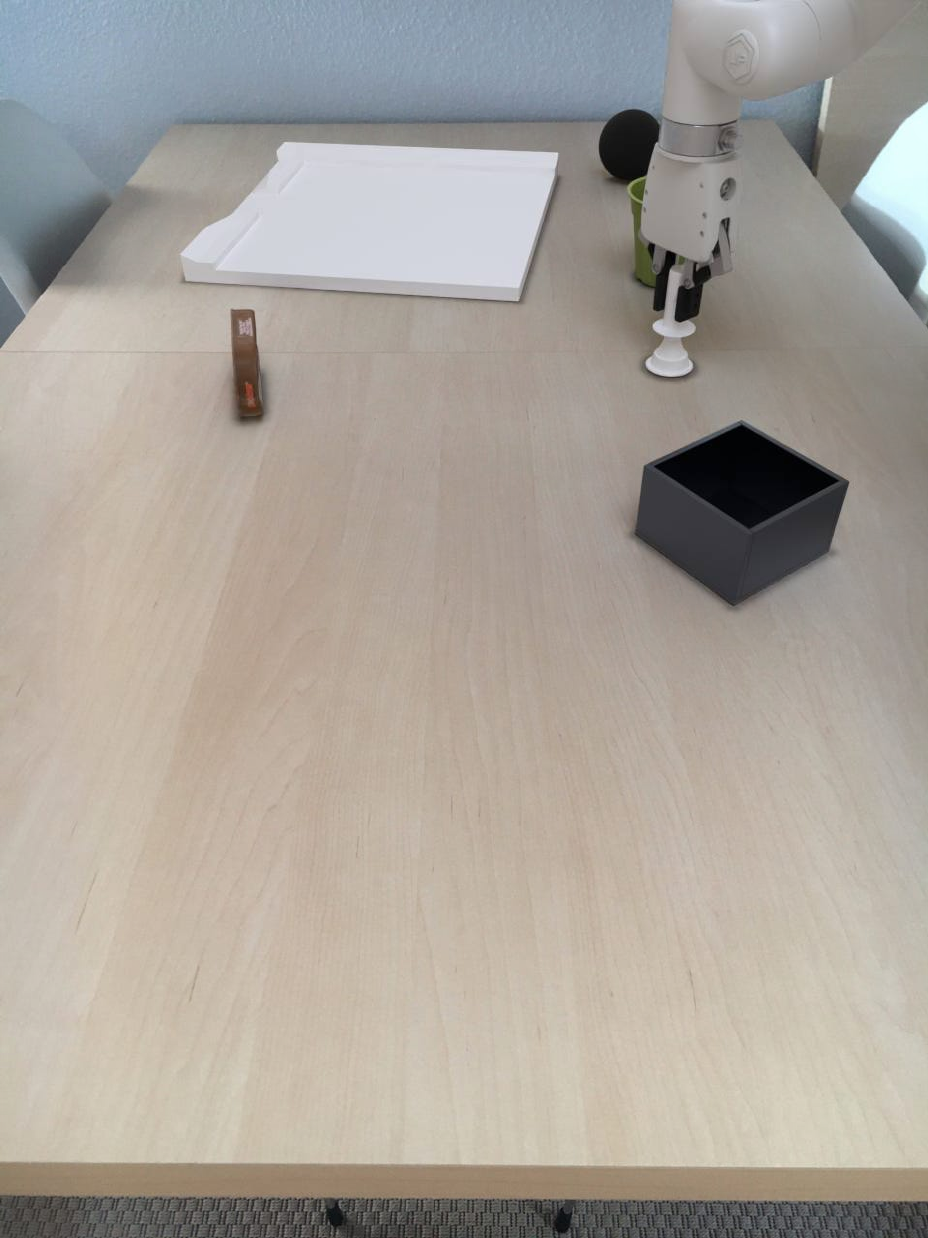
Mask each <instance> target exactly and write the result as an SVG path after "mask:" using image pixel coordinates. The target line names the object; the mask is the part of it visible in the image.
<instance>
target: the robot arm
mask: <svg viewBox="0 0 928 1238" xmlns="http://www.w3.org/2000/svg"><path fill="white" fill-rule="evenodd" d="M922 1H923V0H673V1H672V2H673V3H672V5H671V10H670V11H671V12H670V22H669V32H668V39H667V40H668V41H667V50H666V52H667V53H666V60H665V61H666V62H665V71H664V80H663V91H662V101H661V111H660V118H659V125H660V128H659V138H658V142H657V143H656V144H655V147H654V150H653V153H652V157H651V161H650V165H649V169H648V174H647V175H646V176H647V178H646V184H645V190H644V196H643V204H642V213H641V227H640V229H639V231H638V238H639V239H640V240H641V241H642V243H643V244H644V245H645V246H646V248H648V252H649V254H650V257H651V259H652V261H653V264H652V270H653V272H654V273H655V274H657V276H656V283H655V287H654V294H653V303H652V310H653V311H655V312H657V313H658V312H661V311H664V310H665V302H666V294H667V285H668V278H669V272H670V269H671V267H672V266H673V265H678V262H679V256H683V257H685V266H684V278H683V284H684V285H682V286H679V288H678V293H677V301H676V309H675V317H674V318H675V321H677V322H679V323H681V322H683V321H686V320H688V321H690V320H692V319H694V318H696V317H698V316H699V314H700V311H701V305H702V297H703V296H702V295H703V289H704V284H706V283H709V282H710V280H711V279H712V278H714V277H719V276H723V275H727V274H728V273H729V274H730V273H731V272H732V271H733V262H732V257H731V254H732V253H734V252H735V251H736V247H737V244H738V238H739V231H740V224H741V213H742V203H743V202H742V200H743V163H742V161H743V160H742V154H740V153H739V152H736V151H738V150H739V149H741V148H742V146H743V144H744V136H743V135H742V134H740V133H739V129H740V121H741V114H742V108H743V100H744V101H748V102H759V101H766V100H769V99H773V98H776V97H778V96H782V95H785V94H788V93H791V92H793V91H794V90H797V89H801V88H804V87H807V86H810V85H813V84H817V83H820V82H824V81H825V80H829V79H831V78H833V77H835V76H838V74H840V73H842V72H843V71H845V70H847V69H848V68H849V67H851V66H852V65H854V63H856V62H857V61H858V60H860V59H861V58H862V57H864V56H865V55H866V54H867V53H868V52H869V51H870V50H872V49H873V48H874V47H875V46H876V45H877V44H879V43H880V42H881V41H882V40H883V39H885V37H887V36H888V35H889V34H890V33H891V32H892V31H894V30H895V29H896V28H897V27H899V25H900V24H902V22H903V21H905V20H906V19H907V18H908V17H909V16H910V15H911V14H912V13H913V12H914V11H915V10H916V9H917V7H918V6H920V4H921V3H922ZM712 259H713V260H712ZM697 265H698V266H697ZM697 267H698V268H697Z"/></svg>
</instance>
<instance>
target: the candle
mask: <svg viewBox="0 0 928 1238" xmlns="http://www.w3.org/2000/svg"><path fill="white" fill-rule="evenodd" d="M684 266H685V263H684V264H683V265H673V266H672V267H671V269H670V272H669V278H668V285H667V294H666V302H665V309H664V310H663V311H664V312H663V318H660V319H658V320H656V321H654V322H653V324H652V329H653V331H654V332H655V333H656V334H658V335H660V336H661V337H664V338H663V340H662V342H661V344H660V345H659V346H657V348H655V349H654V351H653V353H652V355H651V356H649V357H648V358H647V359H646V360H645V368H646V369H647V370H648V371H649V372H650V373H652V374H655V375H658V376H660V377H668V378H677V377H682V376H685V375H687V374H690V373H691V371H692V370H693V368H694V363H693V362H692V360H690V358H689V353H688V351H687V350H686V349H685V348H684V345H683V342H682V339H683V338H685V337H689V336H691V335H693V334H694V333H695V332H696V329H697V327H696V325H695V324H694V323H693V322H692V321H690V320H686V321H683V322H681V323H679V322H677V321H675V318H674V317H675V309H676V301H677V293H678V288H679V286H682V285H684V284H683V278H684Z"/></svg>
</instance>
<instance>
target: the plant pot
mask: <svg viewBox="0 0 928 1238" xmlns="http://www.w3.org/2000/svg"><path fill="white" fill-rule="evenodd" d="M646 178H647V175H646V176H644V177H641V178H638V179H636V180H631V181H630V182H629V184H628V185H627V186H626V193H627V196H628V197H629V199H630V208H631V214H632V218H633V220H632V221H633V239H634V240H633V241H634V264H635V276H636V277H635V278H637V279H639V280H641V282H642V283H643V284H645V285H647V286H650V287H654V288H655V283H656V276H657V274H655V273H654V272H653V270H652V264H653V261H652V259H651V257H650V254H649V252H648V248H646V246H645V245H644V244H643V243H642V241H641V240H640V239H639V238H638V231H639V229H640V227H641V213H642V204H643V196H644V190H645V184H646ZM684 263H685V257H683V256H679V262H678V265H683V264H684Z"/></svg>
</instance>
